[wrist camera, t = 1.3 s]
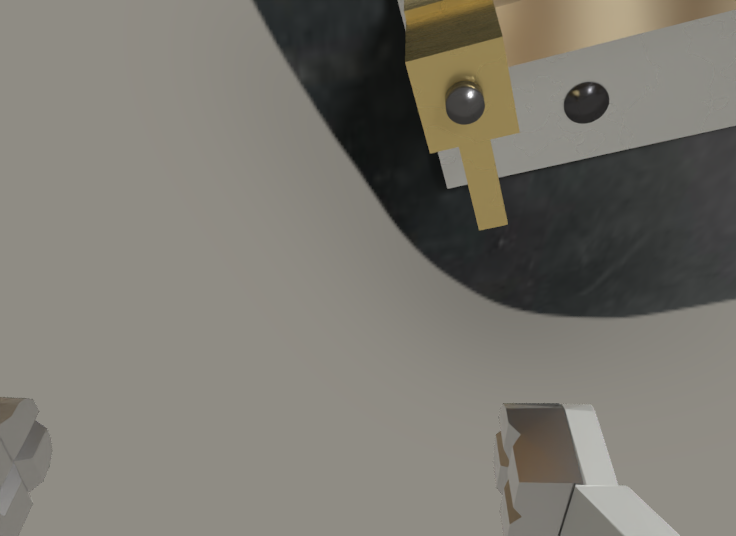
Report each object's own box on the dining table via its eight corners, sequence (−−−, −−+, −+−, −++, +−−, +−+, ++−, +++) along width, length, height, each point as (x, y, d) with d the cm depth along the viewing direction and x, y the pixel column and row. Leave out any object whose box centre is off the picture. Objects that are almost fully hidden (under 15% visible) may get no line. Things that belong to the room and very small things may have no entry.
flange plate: (1015, -217, 29) (1030, -215, 28) (949, 70, 37) (959, 77, 36) (390, -33, 35) (390, -27, 34) (446, 181, 43) (447, 189, 42)
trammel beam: (1006, -176, 29) (1165, -142, 23) (958, 33, 35) (1076, 105, 28) (406, -5, 35) (405, 59, 29) (446, 151, 40) (452, 233, 34)
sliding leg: (484, -33, 33) (502, 34, 27) (516, 139, 39) (537, 230, 32) (404, -10, 34) (402, 61, 28) (446, 155, 40) (453, 246, 33)
